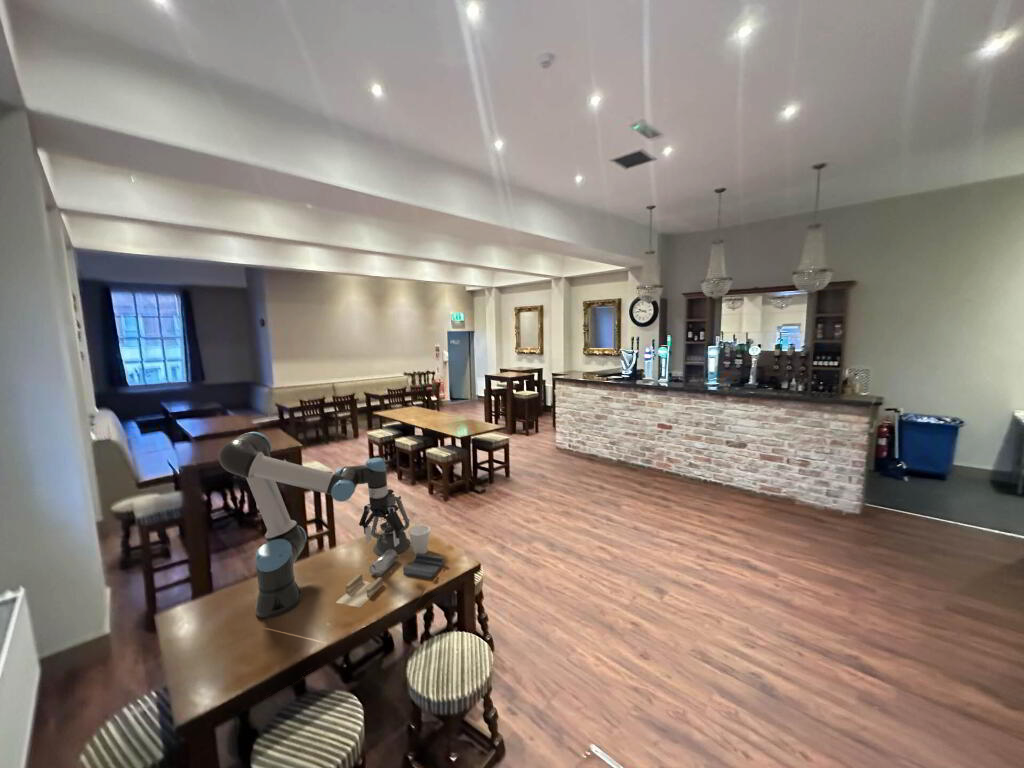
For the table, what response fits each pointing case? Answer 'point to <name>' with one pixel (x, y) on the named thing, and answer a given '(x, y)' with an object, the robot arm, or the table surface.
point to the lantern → (390, 530)
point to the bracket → (359, 591)
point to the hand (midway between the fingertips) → (382, 543)
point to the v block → (424, 566)
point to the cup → (419, 538)
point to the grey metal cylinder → (383, 563)
